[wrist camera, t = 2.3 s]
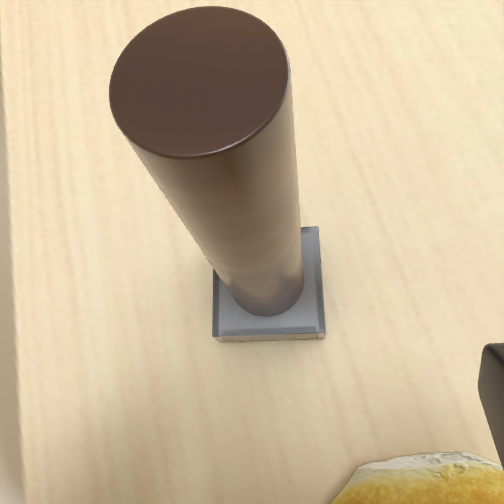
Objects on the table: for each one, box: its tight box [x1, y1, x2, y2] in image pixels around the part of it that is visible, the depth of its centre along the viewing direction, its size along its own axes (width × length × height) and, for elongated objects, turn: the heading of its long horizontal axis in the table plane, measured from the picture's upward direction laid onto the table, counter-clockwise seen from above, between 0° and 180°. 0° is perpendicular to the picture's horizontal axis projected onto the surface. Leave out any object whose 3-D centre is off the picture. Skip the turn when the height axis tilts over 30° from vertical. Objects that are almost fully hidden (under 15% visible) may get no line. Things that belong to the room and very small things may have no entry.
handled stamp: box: [109, 6, 326, 342], centre depth 14 cm, size 4×4×14 cm
